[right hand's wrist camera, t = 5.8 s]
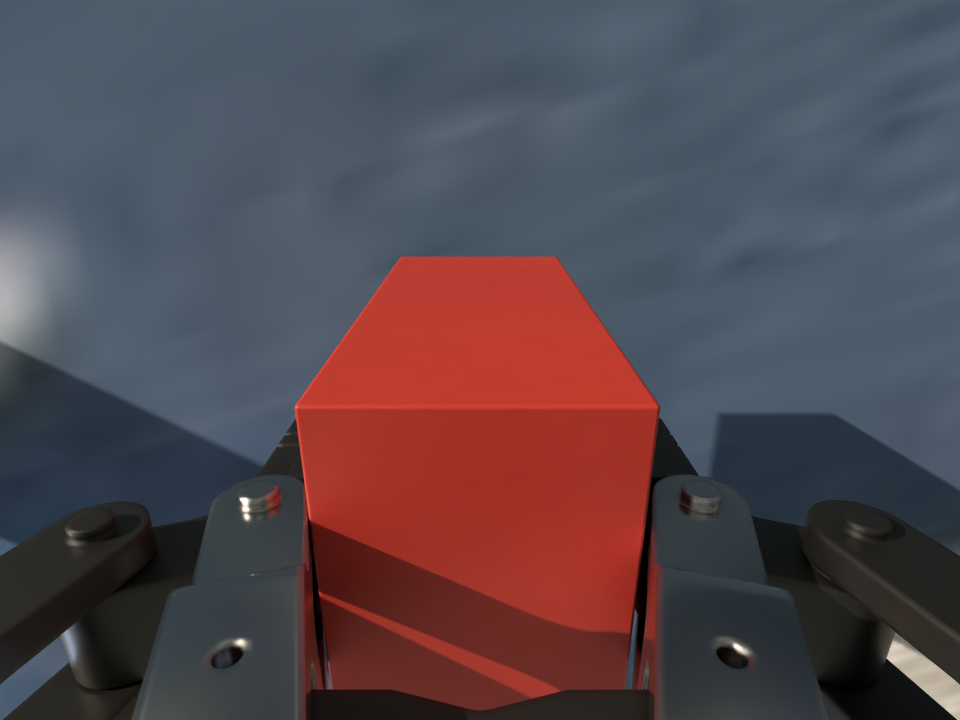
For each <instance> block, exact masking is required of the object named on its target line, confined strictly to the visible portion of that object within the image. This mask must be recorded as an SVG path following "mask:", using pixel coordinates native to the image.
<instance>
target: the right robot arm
mask: <svg viewBox="0 0 960 720" xmlns="http://www.w3.org/2000/svg"><path fill="white" fill-rule="evenodd" d="M635 609H636V612H637V619H636V627H635V644H634V664H633V684H632V690H564V691H560V692H556V693H552V694H548V695H544V696H540V697H536V698H532V699H528V700H524V701H521V702H517V703H513V704H509V705H505V706H501V707H497V708H493V709H488V710H472V709H467V708H463V707H459V706H455V705H451V704H447V703H443V702H439V701H436V700H432V699H428V698H424V697H420V696H416V695H412V694H408V693H404V692H400V691H396V690H328V684H327V664H326V644H325V637H324V629H323V621H322V613H321V606H320V598H319V590H318V583H317V575H316V567H315V560H314V552H313V544H312V537H311V529H310V521H309V514H308V506H307V498H306V490H305V483H304V475H303V467H302V460H301V452H300V444H299V437H298V429H297V421H296V420H295V421H294V422H293V424H292V425H291V427H290V428H289V430H288V431H287V433H286V436H284V437H283V439H282V440H281V442H280V443H279V447H277V448H276V449H275V451H274V452H273V454H272V455H271V457H270V458H269V460H268V461H267V463H266V464H265V466H264V467H263V468H262V470H261V471H260V473H259V474H258V476H257V477H253V478H249V479H246V480H243V481H241V482H238V483H236V484H234V485H232V486H230V487H229V488H227V489H225V490H224V491H223V492H221V493H220V494H219V495H218V496H217V497H216V498H215V500H214V501H213V502H212V505H211V507H210V511H209V515H207V516H204V517H201V518H197V519H193V520H188V521H183V522H178V523H173V524H168V525H162V526H157V527H152V523H151V519H150V515H149V512H148V510H147V509H146V508H145V507H144V506H142V505H140V504H137V503H133V502H110V503H104V504H99V505H95V506H91V507H88V508H85V509H82V510H79V511H77V512H74V513H72V514H70V515H68V516H66V517H64V518H62V519H60V520H58V521H57V522H55V523H53V524H52V525H50V526H48V527H47V528H45V529H43V530H42V531H40V532H39V533H37V534H35V535H34V536H32V537H31V538H29V539H27V540H26V541H24V542H22V543H21V544H19V545H18V546H16V547H14V548H13V549H11V550H9V551H8V552H6V553H5V554H3V555H1V556H0V684H1V683H2V682H3V681H5V680H6V679H7V678H8V677H9V676H11V675H12V674H13V673H14V672H16V671H17V670H18V669H19V668H21V667H22V666H23V665H24V664H26V663H27V662H28V661H29V660H30V659H32V658H33V657H34V656H35V655H37V654H38V653H39V652H40V651H42V650H43V649H44V648H45V647H47V646H48V645H49V644H50V643H52V642H53V641H54V640H55V639H56V638H58V637H59V636H60V637H61V640H62V643H63V646H64V649H65V652H66V654H67V657H68V660H69V663H68V664H67V665H66V666H64V667H63V668H62V669H61V670H60V671H59V672H58V673H56V674H55V675H54V676H53V677H52V678H51V679H49V680H48V681H47V682H46V683H45V684H44V685H43V686H41V687H40V688H39V689H38V690H37V691H36V692H34V693H33V694H32V695H31V696H30V697H29V698H27V699H26V700H25V701H24V702H23V703H22V704H21V705H19V706H18V707H17V708H16V709H15V710H14V711H12V712H11V713H10V714H9V715H8V716H7V717H6V718H4V719H3V720H957V719H956V718H954V717H953V716H952V715H951V714H950V713H949V712H948V711H946V710H945V709H944V708H943V707H942V706H941V705H939V704H938V703H937V702H936V701H935V700H934V699H932V698H931V697H930V696H929V695H928V694H927V693H926V692H924V691H923V690H922V689H921V688H920V687H919V686H917V685H916V684H915V683H914V682H913V681H912V680H911V679H909V678H908V677H907V676H906V675H905V674H904V673H902V672H901V671H900V670H899V669H898V668H897V667H896V666H894V665H893V664H892V663H891V662H890V661H889V660H887V659H886V658H887V655H888V652H889V649H890V646H891V643H892V640H893V637H894V634H895V632H896V633H897V634H899V635H900V636H901V637H902V638H904V639H905V640H906V641H907V642H908V643H910V644H911V645H912V646H913V647H915V648H916V649H917V650H918V651H920V652H921V653H922V654H923V655H925V656H926V657H927V658H928V659H930V660H931V661H932V662H933V663H934V664H936V665H937V666H938V667H939V668H941V669H942V670H943V671H944V672H946V673H947V674H948V675H949V676H951V677H952V678H953V679H954V680H955V681H956V682H958V683H959V684H960V556H959V555H957V554H955V553H954V552H952V551H951V550H949V549H947V548H946V547H944V546H942V545H941V544H939V543H938V542H936V541H934V540H933V539H931V538H929V537H928V536H926V535H925V534H923V533H921V532H920V531H918V530H916V529H915V528H913V527H912V526H910V525H908V524H907V523H905V522H904V521H902V520H900V519H898V518H897V517H895V516H893V515H891V514H889V513H887V512H885V511H882V510H879V509H877V508H874V507H871V506H868V505H865V504H860V503H856V502H850V501H841V500H829V501H823V502H820V503H817V504H815V505H813V506H812V507H811V508H810V510H809V513H808V517H807V521H806V525H805V527H802V526H797V525H792V524H786V523H781V522H776V521H771V520H766V519H761V518H757V517H754V516H752V515H751V511H750V507H749V505H748V502H747V501H746V500H745V498H744V497H743V496H742V495H741V494H740V493H739V492H737V491H736V490H735V489H733V488H731V487H730V486H728V485H726V484H724V483H722V482H719V481H717V480H714V479H711V478H707V477H703V476H699V475H698V474H697V472H696V471H695V469H694V468H693V466H692V465H691V463H690V462H689V460H688V459H687V457H686V456H685V454H684V453H683V451H682V450H681V448H680V447H679V446H677V442H676V441H675V439H674V438H673V436H672V435H670V432H669V430H668V429H667V427H666V425H665V424H664V422H663V421H662V419H660V418H659V421H658V429H657V437H656V445H655V453H654V461H653V469H652V477H651V485H650V493H649V500H648V508H647V516H646V524H645V532H644V540H643V548H642V556H641V564H640V572H639V580H638V588H637V596H636V603H635Z"/></svg>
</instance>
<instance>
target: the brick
mask: <svg viewBox="0 0 960 720" xmlns="http://www.w3.org/2000/svg"><path fill="white" fill-rule="evenodd" d="M659 413H660V406H659V404H658V403H657V401H656V400H655V398H654V397H653V395H652V394H651V393H650V391H649V390H648V388H647V387H646V385H645V384H644V382H643V381H642V380H641V378H640V377H639V375H638V374H637V372H636V371H635V369H634V368H633V367H632V365H631V364H630V362H629V361H628V359H627V358H626V356H625V355H624V354H623V352H622V351H621V349H620V348H619V346H618V345H617V343H616V342H615V341H614V339H613V338H612V336H611V335H610V333H609V332H608V330H607V329H606V328H605V326H604V325H603V323H602V322H601V320H600V319H599V317H598V316H597V315H596V313H595V312H594V310H593V309H592V307H591V306H590V304H589V303H588V302H587V300H586V299H585V297H584V296H583V294H582V293H581V291H580V290H579V289H578V287H577V286H576V284H575V283H574V281H573V280H572V278H571V277H570V276H569V274H568V273H567V271H566V270H565V268H564V267H563V265H562V264H561V263H560V261H559V260H558V258H557V257H401V258H400V259H399V261H398V262H397V263H396V265H395V266H394V268H393V269H392V270H391V272H390V273H389V275H388V276H387V277H386V279H385V280H384V282H383V283H382V285H381V286H380V287H379V289H378V290H377V292H376V293H375V294H374V296H373V297H372V299H371V300H370V301H369V303H368V304H367V306H366V307H365V308H364V310H363V311H362V313H361V314H360V315H359V317H358V318H357V320H356V321H355V323H354V324H353V325H352V327H351V328H350V330H349V331H348V332H347V334H346V335H345V337H344V338H343V339H342V341H341V342H340V344H339V345H338V346H337V348H336V349H335V351H334V352H333V353H332V355H331V356H330V358H329V359H328V361H327V362H326V363H325V365H324V366H323V368H322V369H321V370H320V372H319V373H318V375H317V376H316V377H315V379H314V380H313V382H312V383H311V384H310V386H309V387H308V389H307V390H306V391H305V393H304V394H303V396H302V397H301V399H300V400H299V401H298V403H297V404H296V406H295V414H296V421H297V429H298V437H299V444H300V452H301V460H302V467H303V475H304V483H305V490H306V498H307V506H308V514H309V521H310V529H311V537H312V544H313V552H314V560H315V567H316V575H317V583H318V590H319V598H320V606H321V613H322V621H323V629H324V637H325V644H326V652H327V660H328V667H329V675H330V683H331V690H396V691H400V692H404V693H408V694H412V695H416V696H420V697H424V698H428V699H432V700H436V701H439V702H443V703H447V704H451V705H455V706H459V707H463V708H467V709H472V710H488V709H493V708H497V707H501V706H505V705H509V704H513V703H517V702H521V701H524V700H528V699H532V698H536V697H540V696H544V695H548V694H552V693H556V692H560V691H564V690H625V683H626V675H627V667H628V659H629V651H630V643H631V635H632V627H633V619H634V611H635V603H636V596H637V588H638V580H639V572H640V564H641V556H642V548H643V540H644V532H645V524H646V516H647V508H648V500H649V493H650V485H651V477H652V469H653V461H654V453H655V445H656V437H657V429H658V421H659Z"/></svg>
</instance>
